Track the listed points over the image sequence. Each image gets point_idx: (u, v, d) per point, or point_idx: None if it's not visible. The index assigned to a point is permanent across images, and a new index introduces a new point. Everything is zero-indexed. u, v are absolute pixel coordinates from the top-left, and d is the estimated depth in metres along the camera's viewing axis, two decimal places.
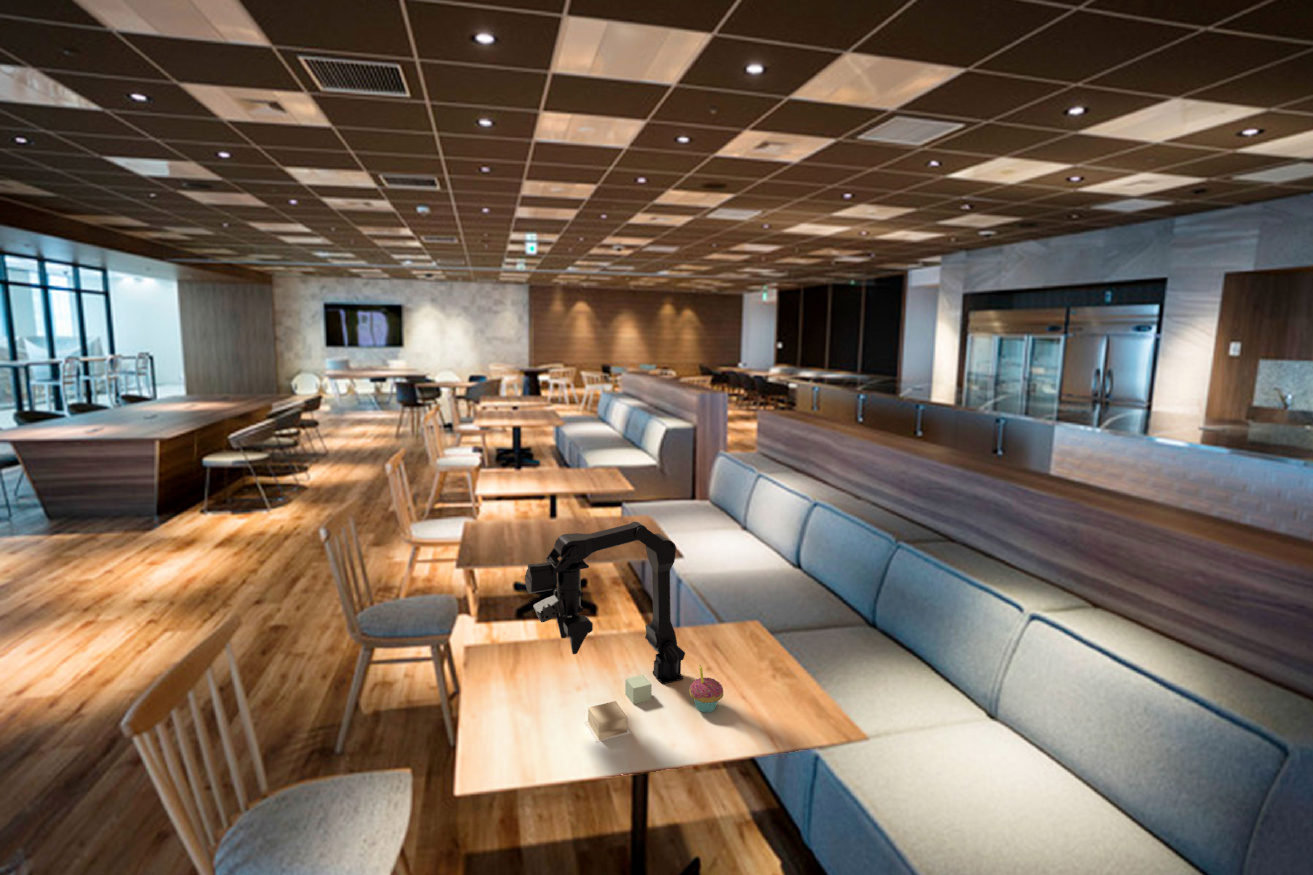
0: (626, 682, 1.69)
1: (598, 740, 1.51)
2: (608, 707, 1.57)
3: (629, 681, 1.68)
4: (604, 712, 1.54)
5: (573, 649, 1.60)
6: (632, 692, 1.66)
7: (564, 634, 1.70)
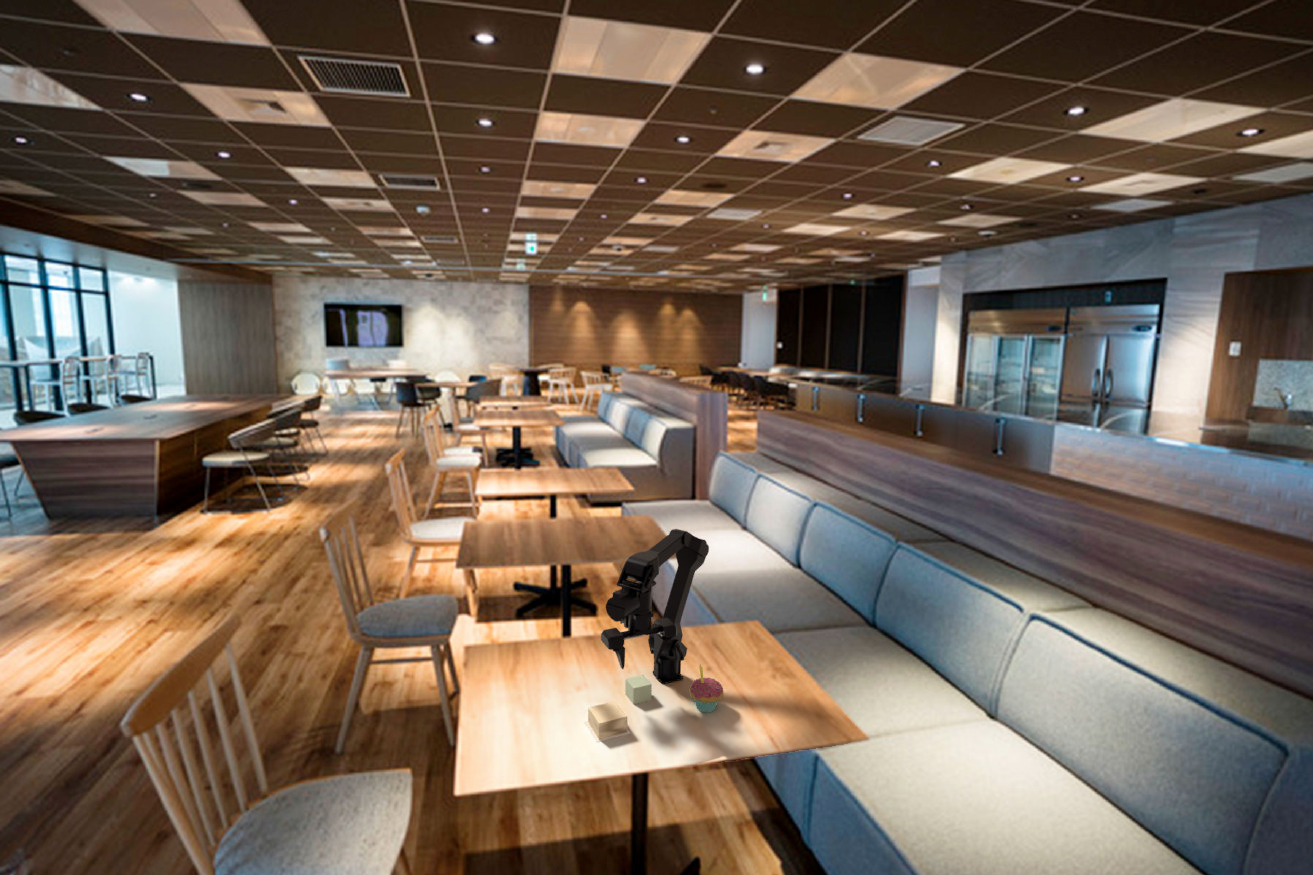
0: (626, 682, 1.69)
1: (598, 740, 1.51)
2: (608, 707, 1.57)
3: (629, 681, 1.68)
4: (604, 712, 1.54)
5: (619, 662, 1.65)
6: (632, 692, 1.66)
7: (655, 658, 1.69)
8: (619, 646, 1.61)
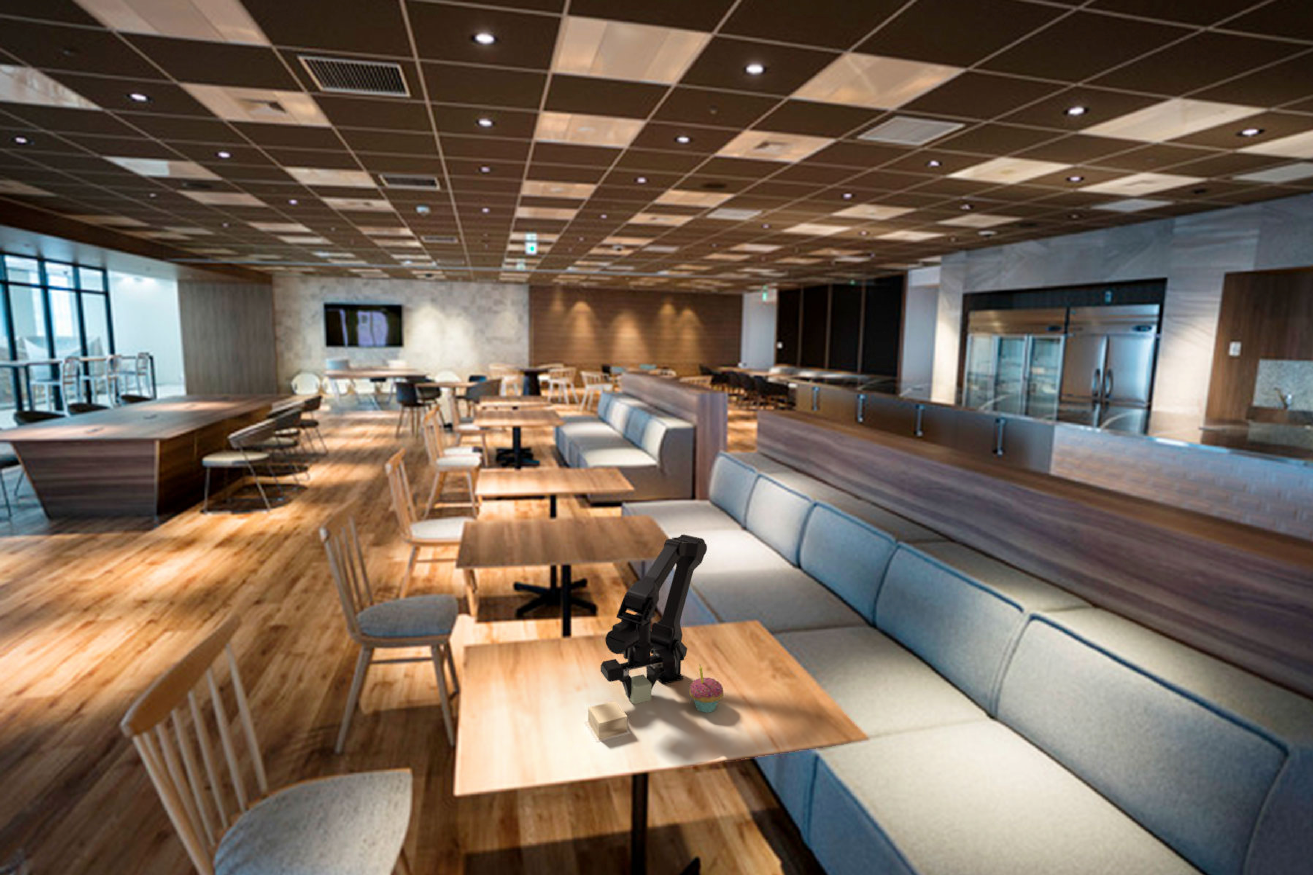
0: None
1: (598, 740, 1.51)
2: (608, 707, 1.57)
3: None
4: (604, 712, 1.54)
5: (625, 691, 1.67)
6: (632, 691, 1.66)
7: None
8: (618, 678, 1.62)
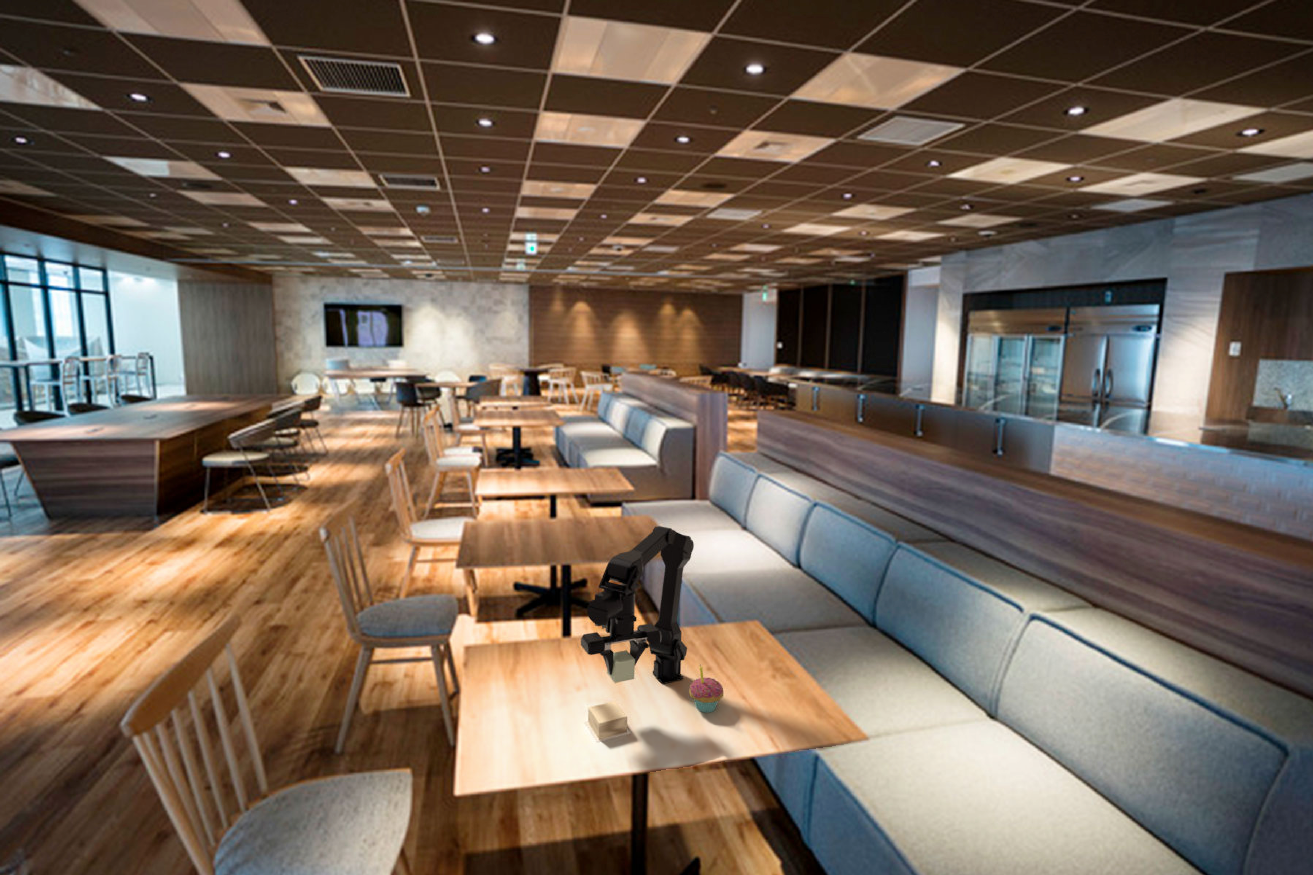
0: None
1: (598, 740, 1.51)
2: (608, 707, 1.57)
3: None
4: (604, 712, 1.54)
5: None
6: (614, 667, 1.56)
7: None
8: (599, 651, 1.52)
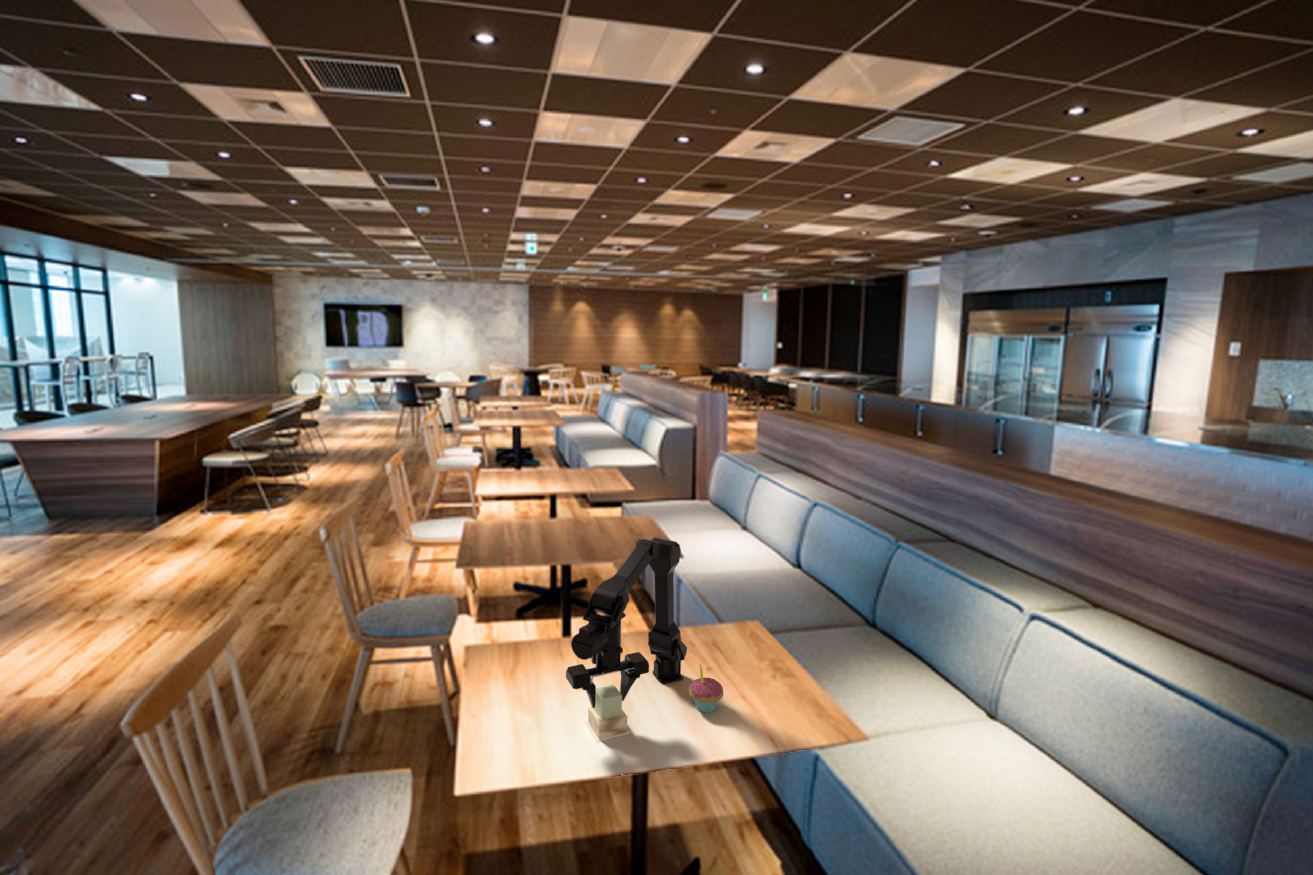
0: None
1: (598, 740, 1.51)
2: None
3: (598, 692, 1.54)
4: None
5: None
6: (600, 703, 1.52)
7: None
8: (585, 685, 1.48)
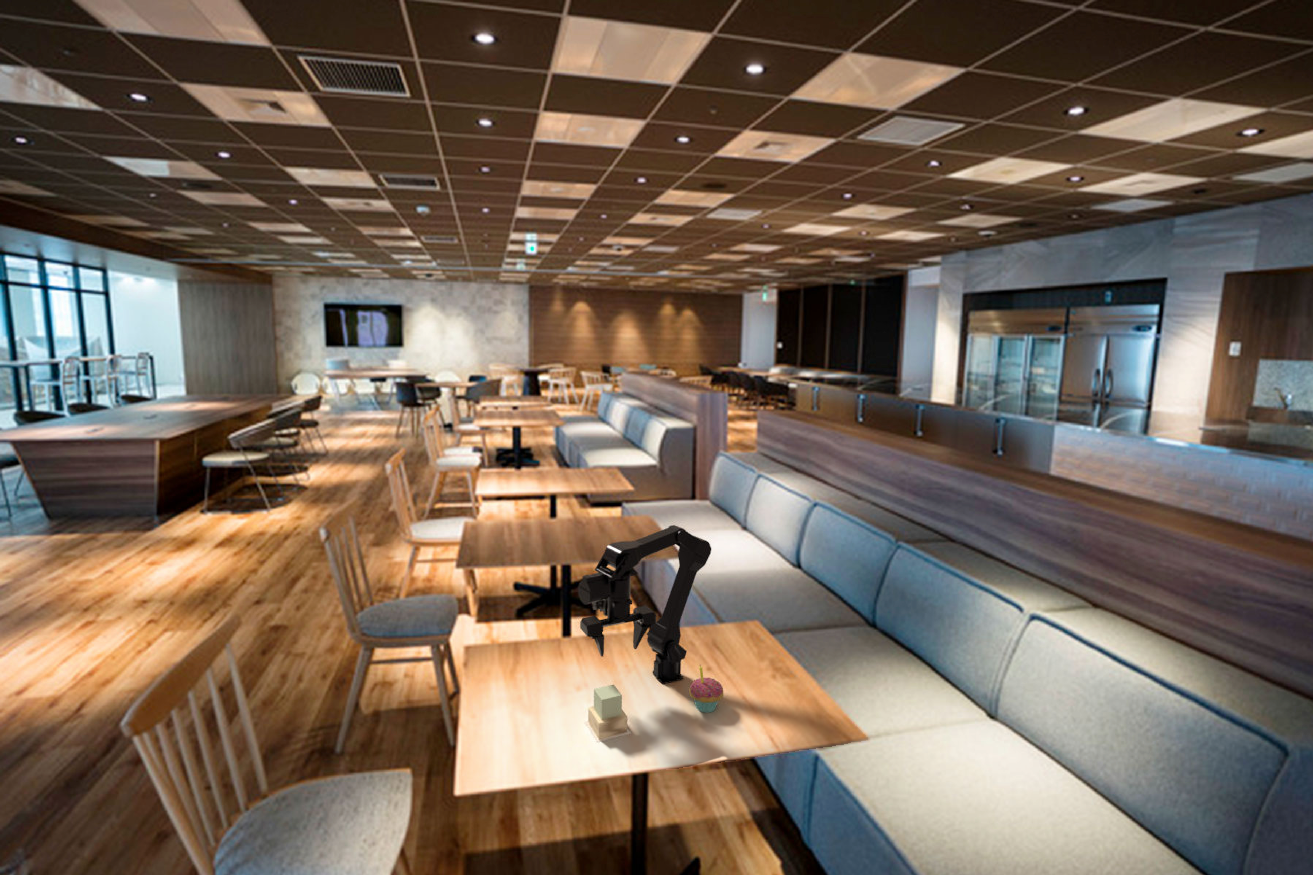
0: (594, 693, 1.55)
1: (598, 740, 1.51)
2: None
3: (598, 692, 1.54)
4: None
5: (598, 649, 1.66)
6: (600, 703, 1.52)
7: (634, 645, 1.70)
8: (598, 633, 1.61)
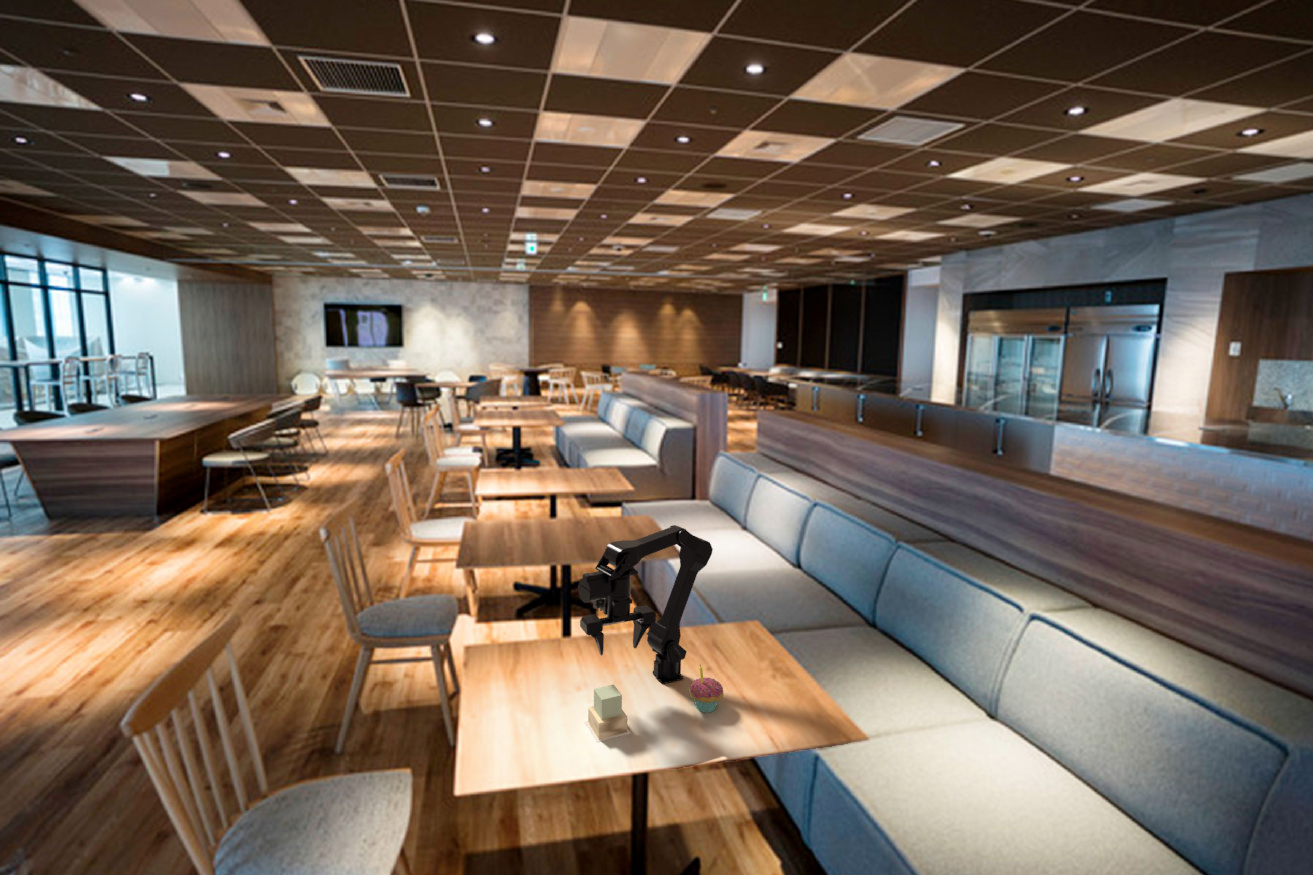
0: (594, 693, 1.55)
1: (598, 740, 1.51)
2: None
3: (598, 692, 1.54)
4: None
5: (598, 648, 1.67)
6: (600, 703, 1.52)
7: (634, 644, 1.70)
8: (597, 632, 1.62)
